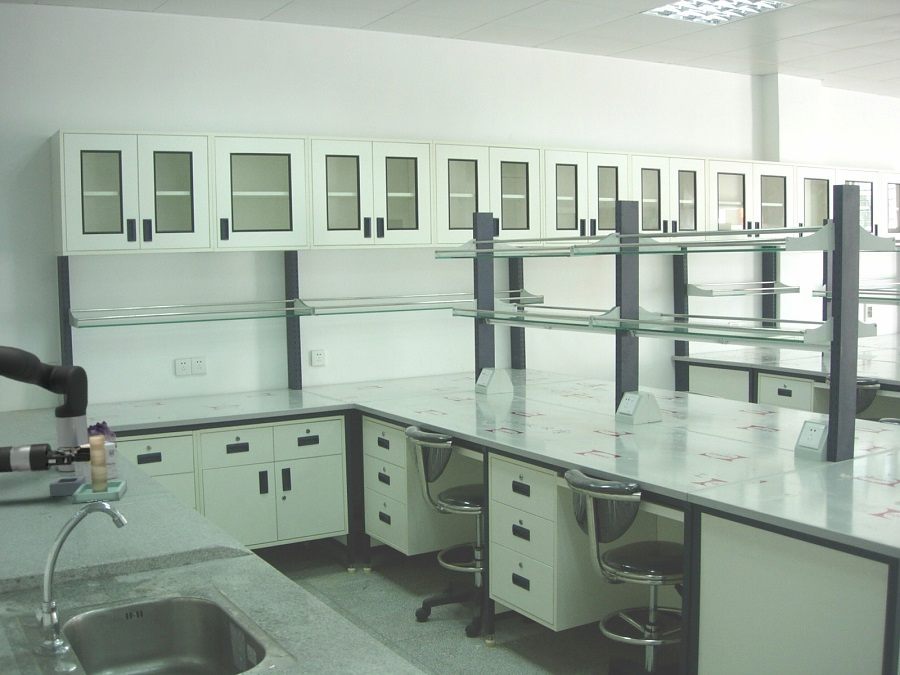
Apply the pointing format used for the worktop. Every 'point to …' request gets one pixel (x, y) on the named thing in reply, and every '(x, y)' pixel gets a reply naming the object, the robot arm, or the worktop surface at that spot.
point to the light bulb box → (111, 464)
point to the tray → (113, 492)
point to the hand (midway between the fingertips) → (93, 453)
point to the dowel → (98, 464)
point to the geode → (102, 432)
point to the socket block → (66, 486)
